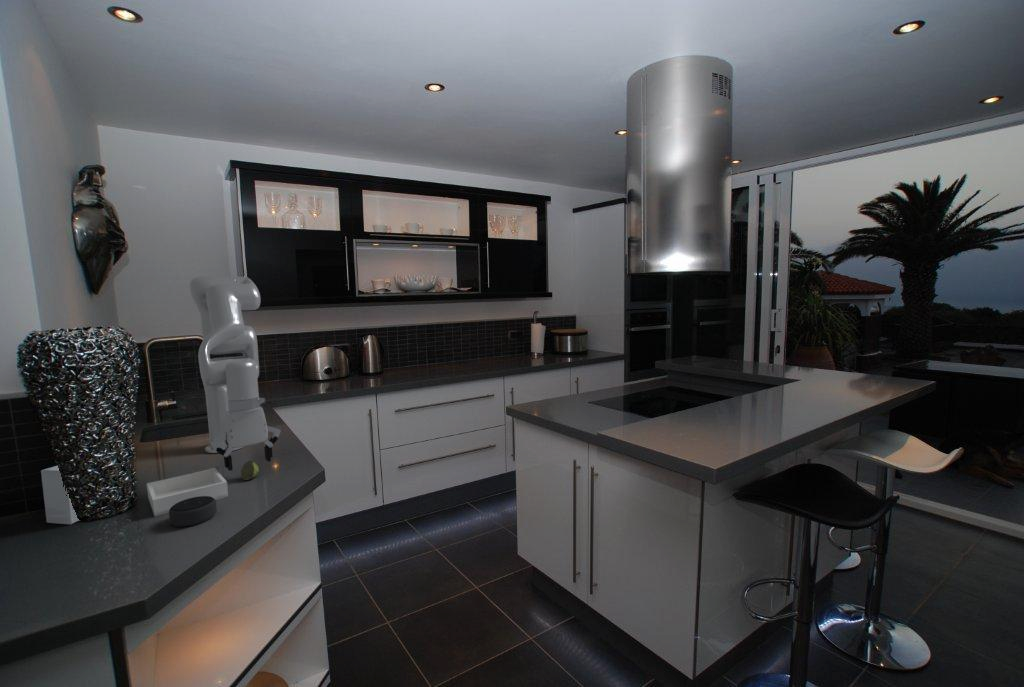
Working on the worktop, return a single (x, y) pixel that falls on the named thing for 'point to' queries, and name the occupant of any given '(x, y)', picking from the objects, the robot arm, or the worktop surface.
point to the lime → (249, 470)
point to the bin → (185, 489)
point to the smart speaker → (192, 511)
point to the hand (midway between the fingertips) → (249, 464)
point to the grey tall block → (56, 498)
